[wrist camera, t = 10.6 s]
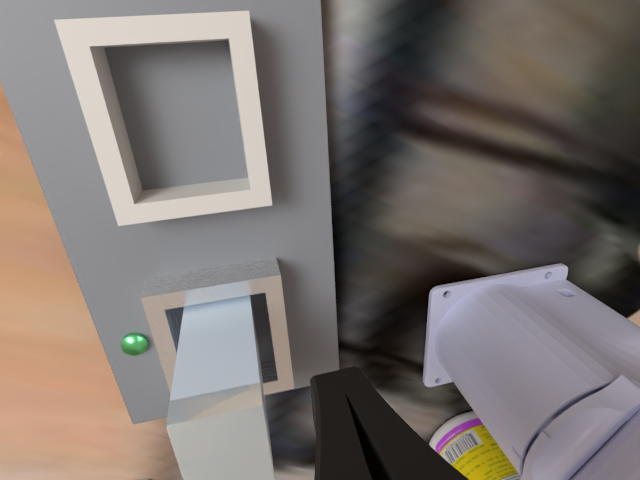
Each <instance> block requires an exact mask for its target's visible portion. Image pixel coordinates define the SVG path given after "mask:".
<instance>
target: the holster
mask: <svg viewBox="0 0 640 480" xmlns="http://www.w3.org/2000/svg"><path fill="white" fill-rule="evenodd" d="M54 22H55V25H56V28H57V31H58V34H59V38H60V41H61V44H62V47H63V50H64V54H65V57H66V60H67V63H68V66H69V70H70V73H71V76H72V79H73V82H74V86H75V89H76V92H77V95H78V99H79V102H80V105H81V108H82V111H83V115H84V118H85V121H86V124H87V127H88V131H89V134H90V137H91V140H92V143H93V147H94V150H95V153H96V156H97V159H98V163H99V166H100V169H101V172H102V176H103V179H104V182H105V185H106V188H107V192H108V195H109V198H110V201H111V204H112V208H113V211H114V214H115V217H116V220H117V224H118V226H123V225H130V224H138V223H145V222H152V221H160V220H167V219H175V218H182V217H190V216H197V215H205V214H212V213H219V212H227V211H234V210H242V209H249V208H257V207H264V206H272V198H271V189H270V181H269V173H268V164H267V156H266V148H265V139H264V131H263V123H262V115H261V106H260V98H259V90H258V81H257V73H256V65H255V56H254V48H253V40H252V31H251V23H250V15H249V11H230V12H209V13H187V14H166V15H145V16H123V17H102V18H80V19H59V20H54ZM224 40H228V42H229V49H230V55H231V62H232V69H233V76H234V83H235V90H236V97H237V104H238V111H239V118H240V125H241V132H242V139H243V145H244V152H245V159H246V166H247V173H248V178H241V179H232V180H224V181H216V182H208V183H199V184H191V185H183V186H174V187H166V188H158V189H150V190H142V186H141V182H140V179H139V175H138V171H137V168H136V164H135V160H134V156H133V153H132V149H131V145H130V142H129V138H128V134H127V131H126V127H125V123H124V119H123V116H122V112H121V108H120V105H119V101H118V97H117V94H116V90H115V86H114V82H113V79H112V75H111V71H110V68H109V64H108V60H107V57H106V53H105V49H104V48H106V47H123V46H140V45H157V44H174V43H191V42H208V41H224Z"/></svg>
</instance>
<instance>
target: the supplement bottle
mask: <svg viewBox="0 0 640 480" xmlns="http://www.w3.org/2000/svg"><path fill="white" fill-rule="evenodd" d="M429 445H430V446H431V447H432V448H433V449H434V450H435V451H436V452H437V453H438V454H439V455H440V456H442V457H443V458H444V459H445V460H446V461H447V462H448V463H450V464H451V465H452V466H453V467H454V468H456V469H457V470H458V471H459V472H460V473H462V474H463V475H464V476H465V477H467V478H468V479H469V480H520V478H521V476H520V475H519V474H518V472H517V471H516V469H515V468H514V467H513V465H512V464H511V462H510V461H509V460H508V458H507V457H506V455H505V454H504V453H503V451H502V450H501V448H500V447H499V445H498V444H497V443H496V441H495V440H494V438H493V437H492V436H491V434H490V433H489V431H488V430H487V429H486V427H485V426H484V424H483V423H482V422H481V420H480V419H479V417H478V416H477V415H476V413H475V412H474V411H470V412H466V413H462V414H460V415H457V416H455V417H453V418H451V419H450V420H448V421H447V422H445V423H444V424H443V425H442V426H441V427H440V428H439V429H438V430H437V431H436V432H435V433H434V435H433V436H432V438H431V440H430V443H429Z"/></svg>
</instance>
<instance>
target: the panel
mask: <svg viewBox="0 0 640 480" xmlns="http://www.w3.org/2000/svg"><path fill="white" fill-rule="evenodd" d="M230 11H249V15H250V23H251V31H252V40H253V48H254V56H255V65H256V73H257V81H258V90H259V98H260V106H261V115H262V123H263V131H264V139H265V148H266V156H267V164H268V173H269V181H270V189H271V198H272V206H264V207H257V208H249V209H242V210H234V211H227V212H219V213H212V214H205V215H197V216H190V217H182V218H175V219H167V220H160V221H152V222H145V223H138V224H130V225H123V226H118V224H117V220H116V217H115V214H114V211H113V208H112V204H111V201H110V198H109V195H108V192H107V188H106V185H105V182H104V179H103V176H102V172H101V169H100V166H99V163H98V159H97V156H96V153H95V150H94V147H93V143H92V140H91V137H90V134H89V131H88V127H87V124H86V121H85V118H84V115H83V111H82V108H81V105H80V102H79V99H78V95H77V92H76V89H75V86H74V82H73V79H72V76H71V73H70V70H69V66H68V63H67V60H66V57H65V54H64V50H63V47H62V44H61V41H60V38H59V34H58V31H57V28H56V25H55V22H54V20H59V19H80V18H102V17H123V16H145V15H166V14H187V13H209V12H230ZM104 49H105V53H106V57H107V60H108V64H109V68H110V71H111V75H112V79H113V82H114V86H115V90H116V94H117V97H118V101H119V105H120V108H121V112H122V116H123V119H124V123H125V127H126V131H127V134H128V138H129V142H130V145H131V149H132V153H133V156H134V160H135V164H136V168H137V171H138V175H139V179H140V182H141V186H142V190H150V189H158V188H166V187H174V186H183V185H191V184H199V183H208V182H216V181H224V180H232V179H241V178H248V173H247V166H246V159H245V152H244V145H243V139H242V132H241V125H240V118H239V111H238V104H237V97H236V90H235V83H234V76H233V69H232V62H231V55H230V49H229V42H228V40H224V41H208V42H191V43H174V44H157V45H140V46H123V47H106V48H104ZM0 82H1V85H2V87H3V90H4V92H5V95H6V98H7V100H8V103H9V105H10V108H11V111H12V113H13V116H14V118H15V121H16V123H17V126H18V129H19V131H20V134H21V136H22V139H23V141H24V144H25V147H26V149H27V152H28V154H29V157H30V160H31V162H32V165H33V167H34V170H35V172H36V175H37V178H38V180H39V183H40V185H41V188H42V191H43V193H44V196H45V198H46V201H47V203H48V206H49V209H50V211H51V214H52V216H53V219H54V222H55V224H56V227H57V229H58V232H59V234H60V237H61V240H62V242H63V245H64V247H65V250H66V252H67V255H68V258H69V260H70V263H71V265H72V268H73V271H74V273H75V276H76V278H77V281H78V283H79V286H80V289H81V291H82V294H83V296H84V299H85V302H86V304H87V307H88V309H89V312H90V314H91V317H92V320H93V322H94V325H95V327H96V330H97V332H98V335H99V338H100V340H101V343H102V345H103V348H104V351H105V353H106V356H107V358H108V361H109V363H110V366H111V369H112V371H113V374H114V376H115V379H116V382H117V384H118V387H119V389H120V392H121V394H122V397H123V400H124V402H125V405H126V407H127V410H128V412H129V415H130V418H131V420H132V423H133V424H137V423H142V422H146V421H151V420H155V419H160V418H165V417H167V415H168V408H169V402H170V395H171V394H170V390H169V387H168V384H167V381H166V378H165V374H164V371H163V368H162V365H161V362H160V358H159V355H158V352H157V349H156V346H155V342H154V339H153V336H152V333H151V330H150V326H149V323H148V320H147V317H146V313H145V310H144V307H143V304H142V301H141V296H142V293H143V290H144V287H145V284H146V281H147V278H148V277H153V276H159V275H165V274H172V273H178V272H184V271H191V270H197V269H203V268H210V267H216V266H222V265H229V264H235V263H241V262H248V261H254V260H261V259H267V258H273V257H276V259H277V263H278V266H279V270H280V274H281V281H282V289H283V297H284V306H285V314H286V322H287V331H288V339H289V347H290V356H291V364H292V372H293V381H294V388H293V389H297V388H302V387H306V386H310V379H311V378H312V377H313V376H315V375H319V374H323V373H328V372H332V371H337V370H339V354H338V334H337V314H336V294H335V274H334V255H333V235H332V215H331V195H330V175H329V155H328V136H327V116H326V96H325V76H324V56H323V37H322V17H321V0H0ZM251 302H252V308H253V315H254V321H255V327H256V334H257V340H258V348H259V356H260V360H262V359H267V358H272V357H274V353H273V346H272V339H271V332H270V325H269V319H268V312H267V305H266V298H265V293H260V294H254V295H251ZM183 310H184V307H178V308H175V312H176V316H177V319H178V323H179V327H180V330H181V323H182V317H183ZM129 333H141V334H143V335H145V336H146V338H147V339H148V345H147V349H146V351H145V352H144V353H142V354H140V355H136V356H132V355H128V354H126V353H124V352H123V351H122V349H121V343H122V340H123V338H124V337H125V336H126V335H127V334H129ZM293 389H289V390H293ZM284 391H288V390H284ZM279 392H283V391H279ZM279 392H275V393H279ZM270 394H274V393H270ZM270 394H266V395H270ZM264 396H265V395H264Z"/></svg>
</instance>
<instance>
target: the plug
mask: <svg viewBox="0 0 640 480" xmlns="http://www.w3.org/2000/svg"><path fill="white" fill-rule="evenodd" d="M166 428H167V431H168V434H169V437H170V440H171V443H172V447H173V450H174V453H175V456H176V459H177V462H178V465H179V468H180V471H181V474H182V477H183V480H275V476H274V468H273V460H272V452H271V444H270V436H269V428H268V420H267V412H266V404H265V396H264V388H263V380H262V372H261V364H260V356H259V348H258V340H257V334H256V327H255V321H254V315H253V308H252V302H251V295H248V296H242V297H236V298H231V299H225V300H219V301H213V302H207V303H202V304H196V305H190V306H184V310H183V317H182V323H181V330H180V336H179V343H178V349H177V356H176V362H175V369H174V376H173V382H172V389H171V395H170V402H169V408H168V415H167V421H166Z"/></svg>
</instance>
